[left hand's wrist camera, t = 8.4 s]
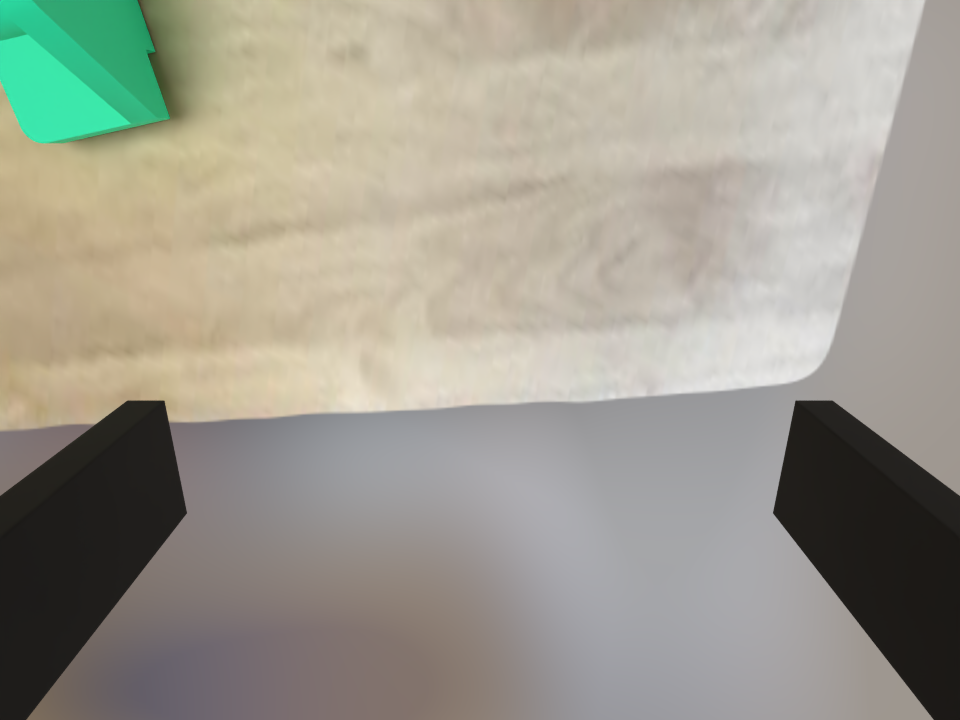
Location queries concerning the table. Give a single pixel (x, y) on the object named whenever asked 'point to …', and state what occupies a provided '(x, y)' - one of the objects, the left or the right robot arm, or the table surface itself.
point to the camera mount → (77, 67)
